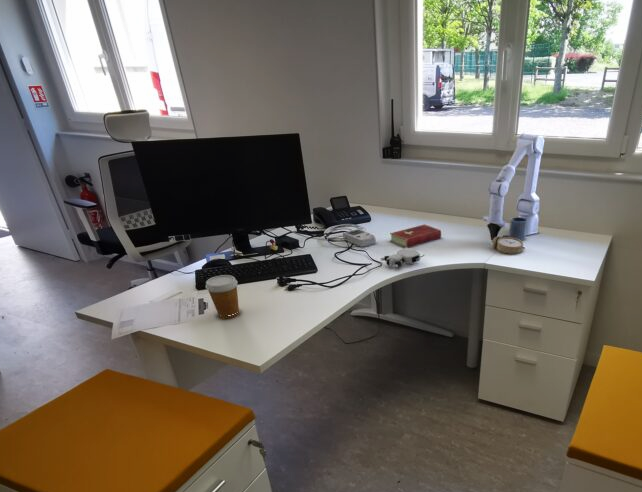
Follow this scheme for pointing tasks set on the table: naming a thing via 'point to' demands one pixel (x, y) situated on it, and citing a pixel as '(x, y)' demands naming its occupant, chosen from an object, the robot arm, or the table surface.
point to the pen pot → (518, 228)
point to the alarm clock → (508, 244)
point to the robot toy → (402, 257)
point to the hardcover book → (415, 235)
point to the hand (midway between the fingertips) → (493, 239)
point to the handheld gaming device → (359, 237)
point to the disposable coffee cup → (224, 295)
